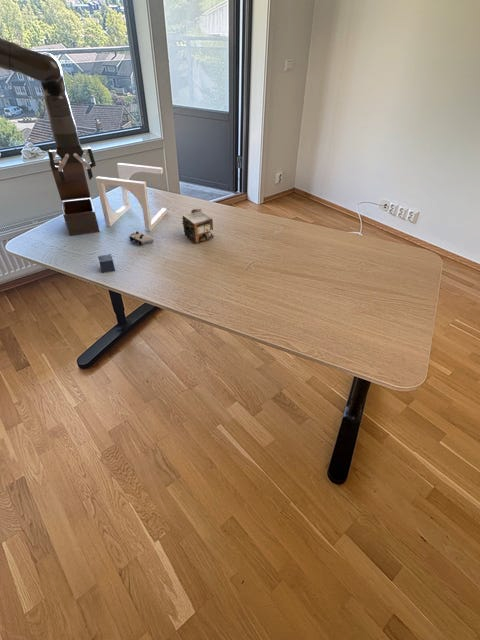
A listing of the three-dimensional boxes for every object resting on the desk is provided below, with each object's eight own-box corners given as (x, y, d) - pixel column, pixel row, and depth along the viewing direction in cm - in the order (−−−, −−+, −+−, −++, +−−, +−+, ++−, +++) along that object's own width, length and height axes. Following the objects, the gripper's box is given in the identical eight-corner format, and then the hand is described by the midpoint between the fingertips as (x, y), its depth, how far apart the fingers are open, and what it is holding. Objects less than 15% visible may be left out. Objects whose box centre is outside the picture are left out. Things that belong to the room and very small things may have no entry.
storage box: (99, 231, 144) (94, 211, 138) (69, 236, 140) (63, 215, 134) (95, 217, 153) (90, 197, 148) (67, 220, 150) (61, 201, 144)
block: (102, 273, 121) (99, 262, 118) (100, 266, 124) (97, 256, 121) (115, 270, 122) (112, 260, 120) (113, 264, 125) (110, 253, 123)
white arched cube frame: (126, 207, 163) (118, 162, 150) (167, 212, 160) (162, 167, 147) (106, 225, 148) (95, 177, 135) (150, 231, 146) (143, 183, 132)
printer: (203, 227, 154) (201, 206, 148) (224, 251, 136) (223, 228, 130) (179, 231, 150) (176, 210, 144) (197, 257, 132) (195, 234, 126)
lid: (81, 160, 136) (80, 155, 139) (49, 163, 132) (48, 157, 135) (90, 197, 147) (89, 191, 150) (61, 200, 143) (60, 194, 146)
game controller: (155, 239, 139) (146, 233, 133) (149, 251, 139) (140, 245, 134) (139, 231, 143) (129, 225, 138) (133, 243, 143) (123, 238, 138)
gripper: (86, 126, 118) (96, 174, 129) (40, 128, 113) (55, 179, 124) (88, 131, 113) (99, 181, 124) (40, 134, 108) (56, 186, 119)
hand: (77, 180), depth 124 cm, fingers open, 8 cm apart
